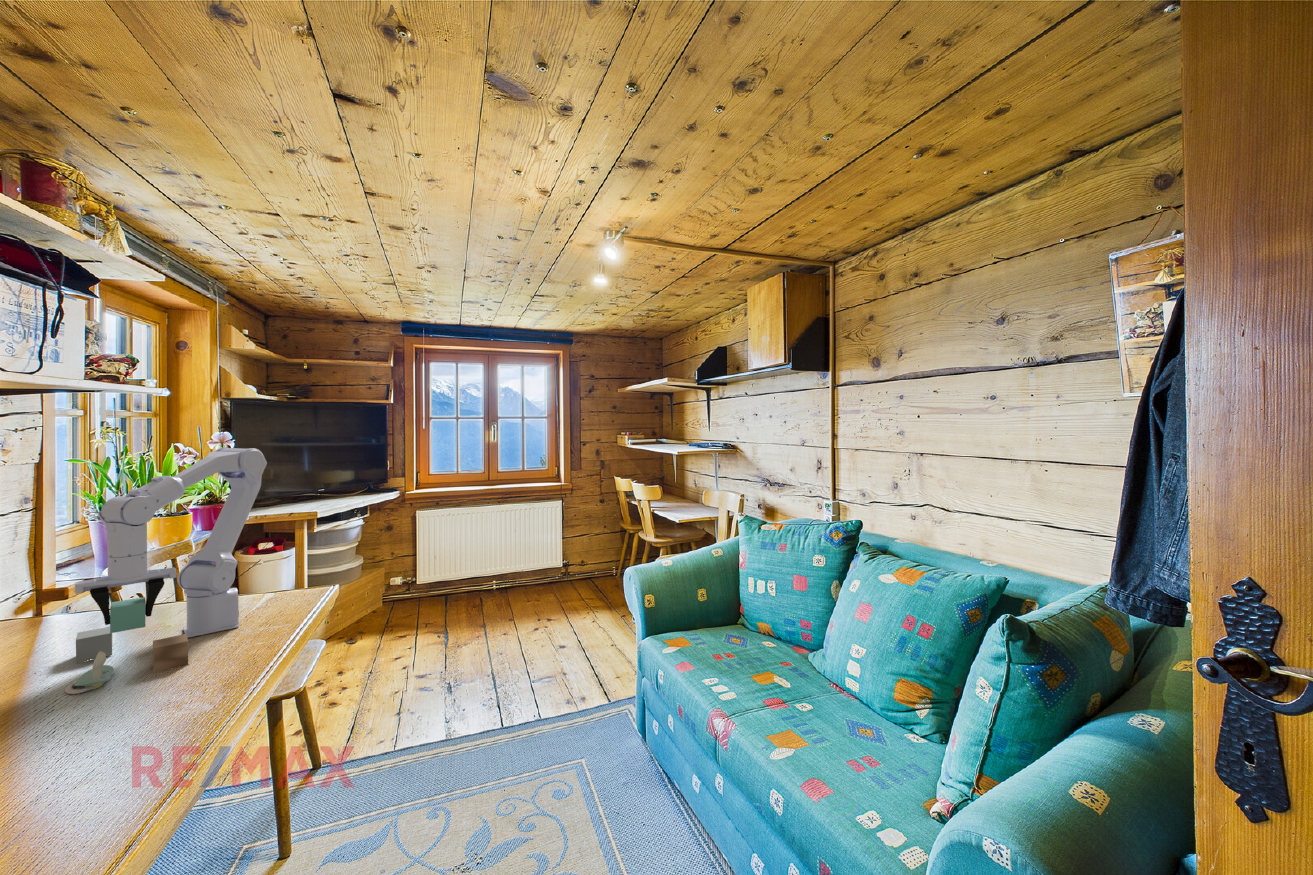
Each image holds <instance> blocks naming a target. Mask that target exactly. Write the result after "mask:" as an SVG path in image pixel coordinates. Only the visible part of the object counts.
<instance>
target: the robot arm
mask: <svg viewBox="0 0 1313 875" xmlns="http://www.w3.org/2000/svg"><path fill="white" fill-rule="evenodd" d="M267 465H268V462H267V459H266V458H265V455H264V454H263V452H262V451H261V450H260V449H258V448H253V447H252V448H251V447H249V448H238V447H237V448H234V447H233V448H232V447H220V448H218V449H216V450H214V451H210V452H208V454H207V455H206V456H205V457H204V458H201V459H200V460H199V461H197V462H195V463H194V464H192V465H190V466H188V467H187V468H185V469H184V470H181V471H180V472H178V473H177V474H175V475H173V476H170V475H159V476H158V475H156V476H154V477H152V478H151V479H150V480H151V481H150V482H148V483H146V484H144V485H142V486H140V487H138V488H135V489H133V488H132V489H130V490H129V491H127V492H128V493H127V494H126V495H124V496H123V495H122V496H114V497H111V498H110V499H108V500H107V501H106V502H105V503H104V504H103V505H102V507H101V510H100V511H98V512H97V515H98V518H99V519H100V521H101V522H102V523H104V524H105V531H106V534H107V537H106V538H107V542H106V543H107V546H106V547H107V550H106V551H107V552H106V553H107V576H102V577H97V578H92V579H86V580H81V581H76V582H74V594H75V595H77V594H78V595H79V594H83V593H86V592H89V593H90V597H91V598H92V599H93V601H94V602H95V603H96V605H97V607H98V608H99V609H100V612H101V613H102V615H103V619H104V620H103V621H104V625H105V626H107V625H110V592H109V591H110V589H109V588H116V587H122V586H123V587H124V586H128V585H135V584H142V583H145V617H151V616H152V612H153V609H154V606H155V603H156V600H157V598H158V596H159V594H161V593H160V592H161V591H162V589H163V588H164V586H165V580H166V579H175V578H177V584H178V586H179V588H181V589H183V590H184V594H185V595H186V625H185V626H183V632H184V634H186V635H187V639H189V638H194V637H199V636H203V635H207V634H212V633H217V632H222V631H226V630H231V629H235V628H236V629H237V628H239V627H240V625H239V620H240V618H239V617H240V611H239V593H238V592H239V590H238V588H237V587H231V586H232V585H233V584H234V582H235V578H236V568H237V566H238V560H237V559H236V558H235V557H234V556H233V554H232V553H233V552H234V548H235V546H236V544H237V542H238V540H239V538H240V535H241V533H242V530H243V528H244V526H245V524H246V521H247V519H248V517H249V514H250V513H251V510H252V508H253V506H254V503H255V500H256V499H257V497H258V494H259V492H260V489H261V487H262V476H263V474H264V471H265V469H266V467H267ZM217 473H218V475H220V476H221V477H222V478H223V480H225V481H226V482H227V483H228V484H229V486H230V491H229V493H228V496H226V499H225V502H224V504H223V505H222V509H221V511H220V513H219V514H218V517H217V519H216V521H215V523H214V526H213V528H212V530H211V532H210V535H209V536H208V539H207V541H206V543H205V544H204V547H203V549H201V550H200V551H199V552H197V553H195V554H193V555H192V556H191V557H190V559H189V561H188V563H186V565H185V566H184V567H183V568H182V569H180V572H179V573H178V575H177V568H176V567H168V568H167V567H166V568H159V569H148V522H150V521H151V520H152V519H153V518H154V516H155V514H156V512H157V511H159V510H161V509H162V508H164V507H166V506H167V505H169V504H171V503H173V502H175V501H177V500H178V499H180V498H182V497H183V496H184V494H185V490H186V488H189V487H191V486H193V485H195V484H197V483H199V482H200V481H203V480H205V479H206V478H209V477H211V476H213V475H215V474H217Z"/></svg>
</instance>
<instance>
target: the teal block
mask: <svg viewBox="0 0 1313 875" xmlns="http://www.w3.org/2000/svg"><path fill="white" fill-rule="evenodd" d="M145 607H146V596H144V597H138V598H137V597H136V598H130V599H123V600H117V601H111V603H110V606H109V612H110V624H109V627H110V633H112V634H113V633H115V634H116V633H119V632H125V631H130V630H136V629H141V628H142V629H143V628H146V615H145Z"/></svg>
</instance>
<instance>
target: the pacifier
mask: <svg viewBox="0 0 1313 875" xmlns="http://www.w3.org/2000/svg"><path fill="white" fill-rule="evenodd" d="M106 661H107V657H106V654H105V653H104V652H99V653H98V654H97V656H96V658H95V660H93V665H92V668H90V669H88V670H86V672H84V673H82V674H81V675H80V676H79V677H78V678H76V680H75V681H74V682H73V683H70V684H69V685H67V686H66V688H65V689H64V692H65V693H66V694H67V695H78V694H81V693H85V692H88V691H90V690H95V689H98V688H100V687H102V686H104V685H105V682H108V681H110V680H111V677H113V675H114V673H115V667H113V666H111V665H107V664H105V663H106ZM75 687H82V688H79V689H74V688H75Z"/></svg>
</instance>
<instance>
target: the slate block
mask: <svg viewBox="0 0 1313 875" xmlns="http://www.w3.org/2000/svg"><path fill="white" fill-rule="evenodd" d="M112 647H113V648H114V646H113V633H110V626H106V627H100V628H96V629H91V630H90V629H89V630H84V631H79V632H77V633H76V638H75V664H76V663H77V664H81V663H85V662H84V661H86V662H88V661H87V660H90V659H95V658H96V656H97V654H98V653H99V652H104V653H105V654H106V656H110V655H112V656H113V649H112ZM110 657H111V656H110Z"/></svg>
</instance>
